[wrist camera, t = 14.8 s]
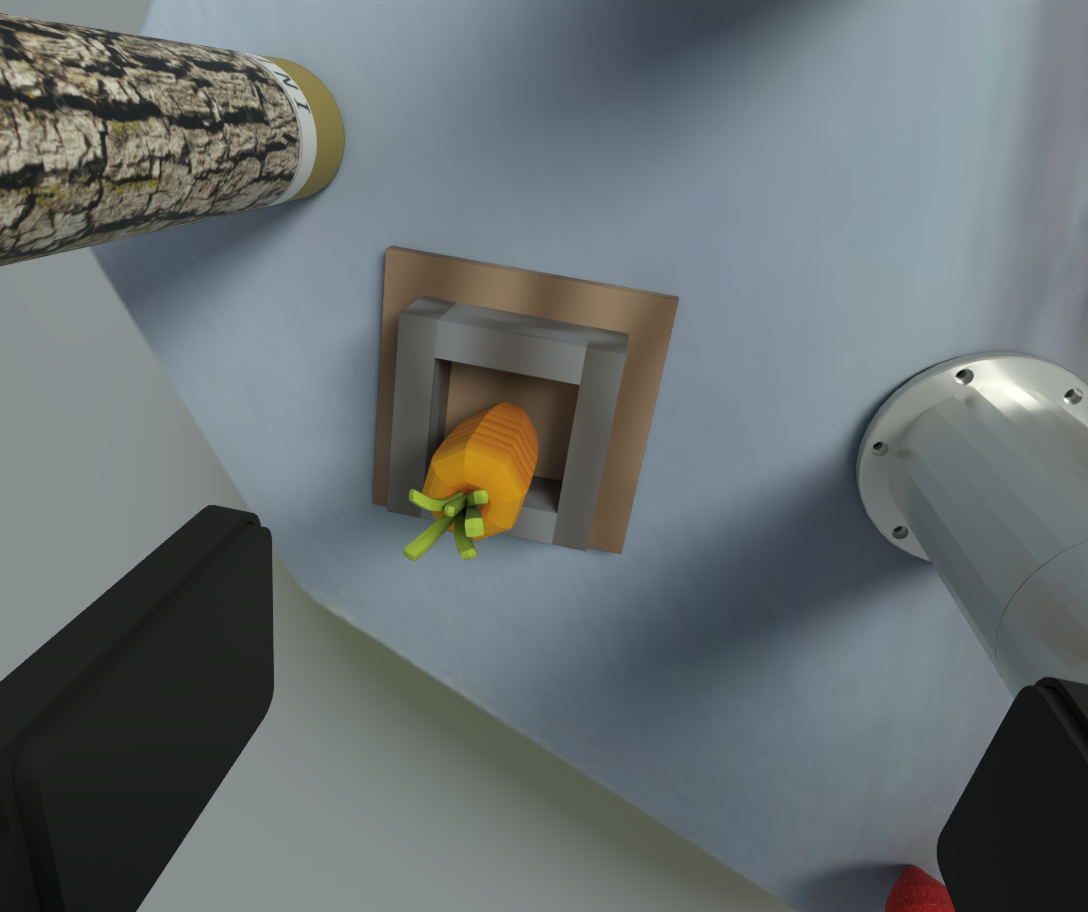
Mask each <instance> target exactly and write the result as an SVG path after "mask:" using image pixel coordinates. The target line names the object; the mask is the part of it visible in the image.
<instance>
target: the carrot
mask: <svg viewBox="0 0 1088 912" xmlns="http://www.w3.org/2000/svg"><path fill="white" fill-rule="evenodd" d="M537 458H538V440H537V432H536V430H535V429H534V427H533V425H532V423H531V421H530V419H529V417H528V415H527V413H526V411H525V409H524V408H522V407H519V406H516V405H514V404H511V403H509V402H501V403H498V404H496V405H494V406H491V407H489V408H487V409H484V410H482V411H480V412H478V413H476V414H474V415H473V416H471V417H469V418H468V419H466V420H465V421H463V422H462V423H460V424H459V425H458V426H457V427H456V428H455V429H454V430H453V431H452V432H451V433H450V435H449V436H448V437H447V438H446V439H445V440H444V442H443V443H442V444H441V445H440V447H439V448H438V449H437V451H436V452H435V453H434V455H433V457H432V460H431V463H430V467H429V470H428V473H427V477H426V480H425V483H424V487H423V490H422V494H421V493H420V492H418V491H416V490H414V489H410V491H409V501H411V502H412V503H414V504H415V505H417V506H419V507H421V508H423V509H425V510H430V511H431V512H432V514H433V516H434V517H435V519H436V522H435V523H433V524H432V525H431V526H430V527H429V528H428V529H427V530H425V531H424V532H423V533H422V534H421V535H420V536H418V537H417V538H416V539H415V540H414V541H413V542H411V543H410V544H409V545H408V546H407V547H406V548H405V549H404V551H403V554H404V555H405V556H406V557H407V558H408V559H410V560H413V561H416V560H417V559H418V558H420V557H421V556H422V555H423V554H424V553H425V552H426V551H428V550H429V549H430V548H431V546H432V545H433V544H434V543H435V542H436V541H437V540H438V539H439V538H440V537H441V536H442V534H443V533H444V532H445V531H446V530H448V531H451V532H453V533H454V537H455V541H456V545H457V548H458V551H459V553H460V554H461V556H462V558H463V559H464V560H469V559H473V558H474V557H476V556H478V555H477V552H476V550H475V547H474V544H473V542H472V540H475V541H478V540H481V539H484V538H487V537H489V536H492V535H495V534H498V533H501V532H503V531H506V530H509V529H511V528H512V527H513V526H514V525H515V523H516V521H517V518H518V515H519V513H520V510H521V507H522V505H523V502H524V499H525V497H526V494H527V491H528V489H529V486H530V482H531V479H532V476H533V473H534V470H535V466H536V462H537ZM471 539H472V540H471Z"/></svg>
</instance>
